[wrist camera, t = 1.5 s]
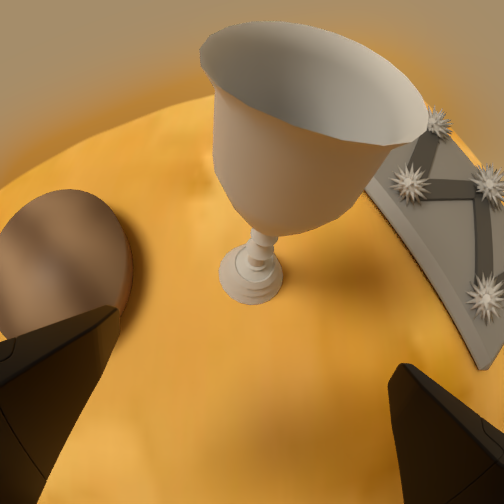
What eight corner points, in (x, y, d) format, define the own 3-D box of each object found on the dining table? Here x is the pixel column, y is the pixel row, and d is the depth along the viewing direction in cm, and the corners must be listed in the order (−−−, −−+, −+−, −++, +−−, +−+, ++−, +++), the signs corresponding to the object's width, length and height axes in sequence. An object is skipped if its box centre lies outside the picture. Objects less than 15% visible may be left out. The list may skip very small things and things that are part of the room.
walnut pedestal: (65, 394, 18) (50, 394, 16) (-18, 286, 20) (-33, 277, 18) (167, 260, 23) (163, 246, 21) (68, 181, 25) (59, 166, 23)
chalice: (190, 294, 23) (149, 86, 6) (224, 222, 25) (247, 9, 9) (281, 329, 22) (437, 191, 6) (306, 253, 25) (420, 71, 9)
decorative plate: (319, 149, 31) (339, 101, 25) (418, 118, 38) (438, 86, 31) (474, 378, 22) (525, 368, 16) (531, 276, 29) (564, 257, 23)
